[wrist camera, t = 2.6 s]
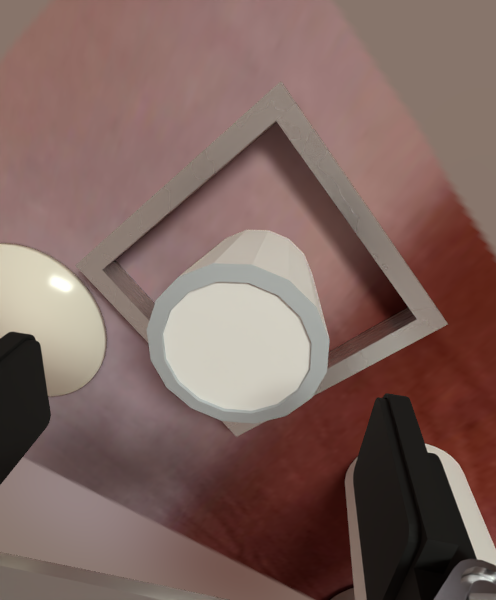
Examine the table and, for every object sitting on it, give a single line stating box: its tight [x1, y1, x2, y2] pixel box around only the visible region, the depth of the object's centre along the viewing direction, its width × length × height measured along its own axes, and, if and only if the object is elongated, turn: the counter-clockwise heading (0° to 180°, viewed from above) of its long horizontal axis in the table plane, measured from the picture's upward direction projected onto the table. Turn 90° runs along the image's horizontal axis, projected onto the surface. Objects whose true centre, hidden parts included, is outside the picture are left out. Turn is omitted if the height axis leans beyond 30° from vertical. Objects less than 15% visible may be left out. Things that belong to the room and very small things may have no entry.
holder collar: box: [75, 82, 447, 437], centre depth 21 cm, size 13×13×2 cm
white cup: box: [147, 230, 329, 424], centre depth 18 cm, size 7×7×7 cm
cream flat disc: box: [0, 243, 107, 396], centre depth 24 cm, size 10×10×1 cm
